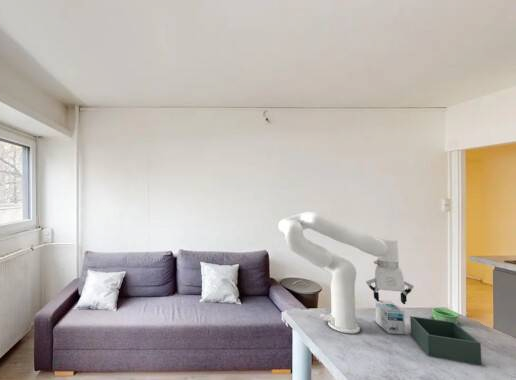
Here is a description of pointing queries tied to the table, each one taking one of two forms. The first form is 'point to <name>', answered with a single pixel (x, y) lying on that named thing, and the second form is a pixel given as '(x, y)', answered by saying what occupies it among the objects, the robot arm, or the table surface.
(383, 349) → the table surface
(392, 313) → the light bulb box
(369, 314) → the table surface
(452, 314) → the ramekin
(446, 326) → the open storage box
